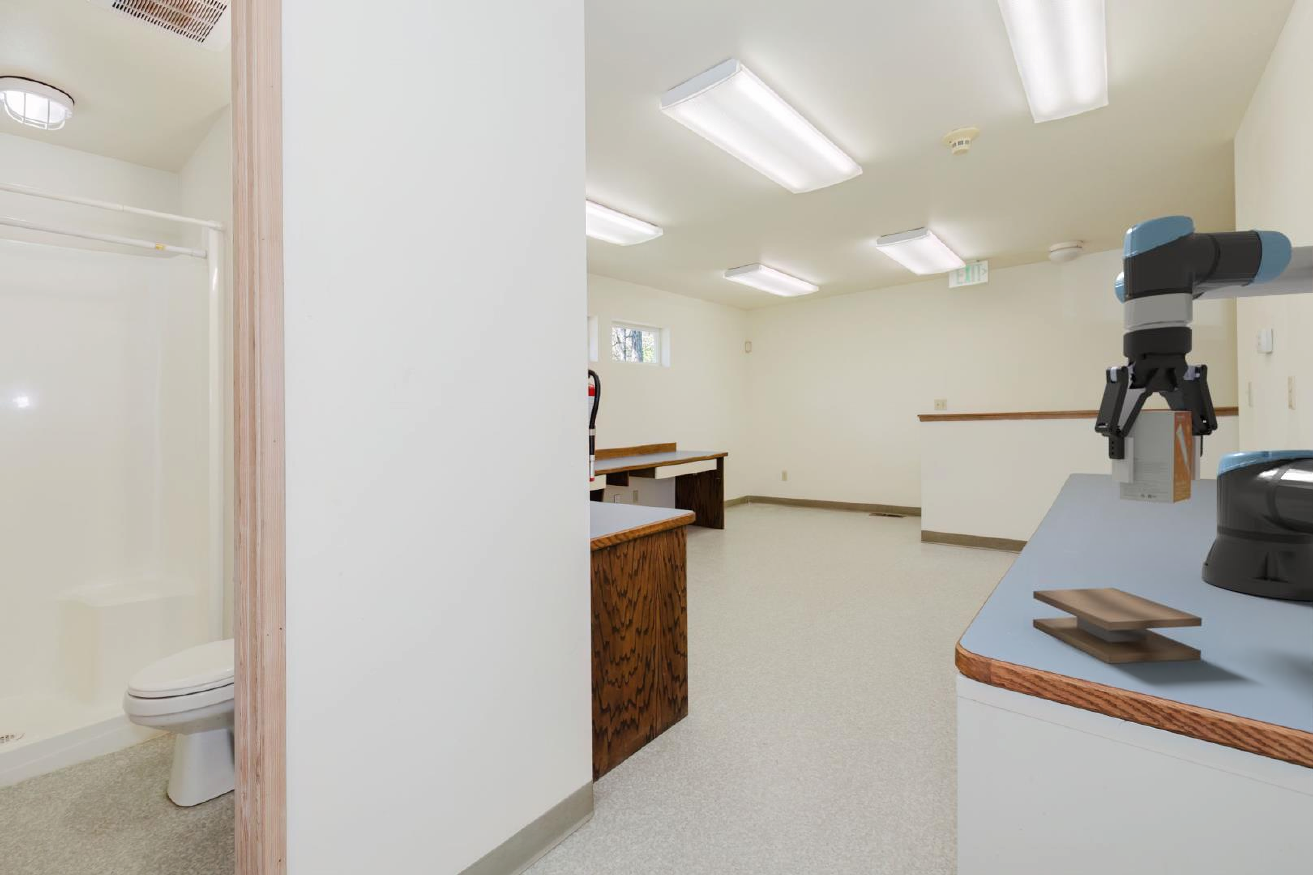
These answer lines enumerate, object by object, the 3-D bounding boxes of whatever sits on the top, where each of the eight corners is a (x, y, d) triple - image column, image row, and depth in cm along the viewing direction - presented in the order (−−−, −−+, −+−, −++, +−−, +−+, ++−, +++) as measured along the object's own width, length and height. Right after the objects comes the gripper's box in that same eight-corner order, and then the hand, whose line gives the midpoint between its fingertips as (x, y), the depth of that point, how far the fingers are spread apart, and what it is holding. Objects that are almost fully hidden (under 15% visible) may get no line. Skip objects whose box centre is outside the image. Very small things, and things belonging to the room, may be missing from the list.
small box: (1174, 504, 78) (1175, 410, 78) (1118, 499, 83) (1118, 411, 83) (1192, 498, 82) (1193, 410, 82) (1137, 494, 88) (1138, 411, 87)
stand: (1112, 622, 80) (1113, 587, 80) (1200, 658, 68) (1201, 617, 68) (1032, 626, 79) (1033, 590, 79) (1108, 663, 67) (1109, 622, 67)
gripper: (1200, 331, 87) (1198, 475, 87) (1063, 333, 85) (1063, 480, 86) (1256, 323, 79) (1253, 481, 80) (1107, 325, 77) (1106, 486, 78)
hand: (1155, 480), depth 83 cm, fingers closed on small box, 10 cm apart
